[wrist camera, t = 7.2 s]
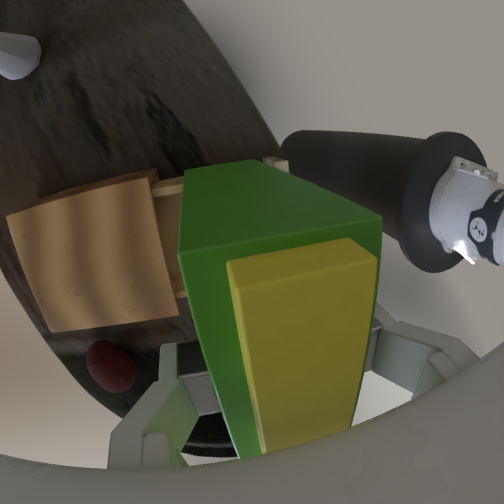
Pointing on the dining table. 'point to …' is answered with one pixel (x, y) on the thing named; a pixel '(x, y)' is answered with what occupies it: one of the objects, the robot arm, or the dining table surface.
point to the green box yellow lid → (278, 299)
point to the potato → (111, 366)
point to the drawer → (168, 217)
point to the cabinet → (96, 254)
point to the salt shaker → (18, 55)
